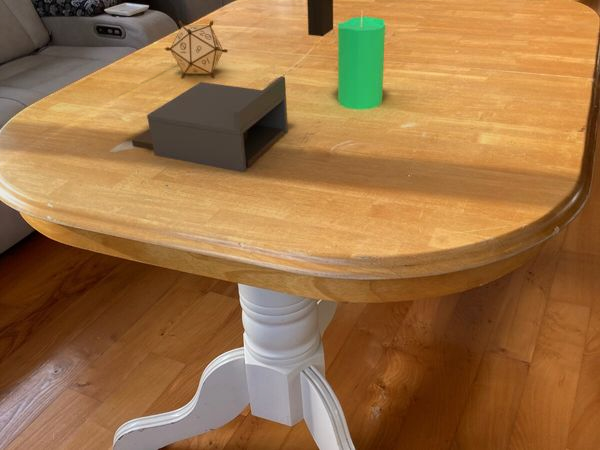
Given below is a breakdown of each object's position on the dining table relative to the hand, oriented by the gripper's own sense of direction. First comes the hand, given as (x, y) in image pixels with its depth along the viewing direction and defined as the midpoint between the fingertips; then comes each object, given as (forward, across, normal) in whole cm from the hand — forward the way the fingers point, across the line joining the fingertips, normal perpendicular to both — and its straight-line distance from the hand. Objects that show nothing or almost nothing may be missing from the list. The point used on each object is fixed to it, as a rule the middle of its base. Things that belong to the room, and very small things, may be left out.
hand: (320, 31), depth 58 cm
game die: (+15, +29, -20) cm, 38 cm away
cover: (+14, +13, 0) cm, 19 cm away
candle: (+15, +2, -18) cm, 23 cm away
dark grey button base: (+14, +15, 0) cm, 21 cm away
